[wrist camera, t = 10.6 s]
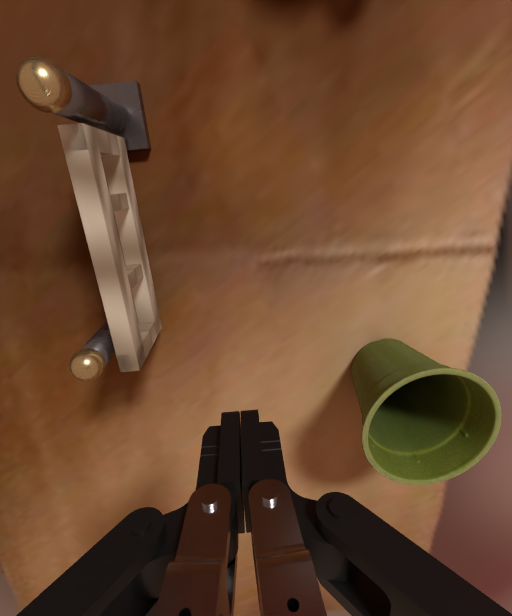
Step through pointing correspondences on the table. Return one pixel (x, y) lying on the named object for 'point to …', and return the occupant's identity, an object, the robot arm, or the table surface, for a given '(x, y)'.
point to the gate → (114, 238)
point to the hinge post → (85, 100)
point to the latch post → (93, 355)
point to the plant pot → (421, 414)
